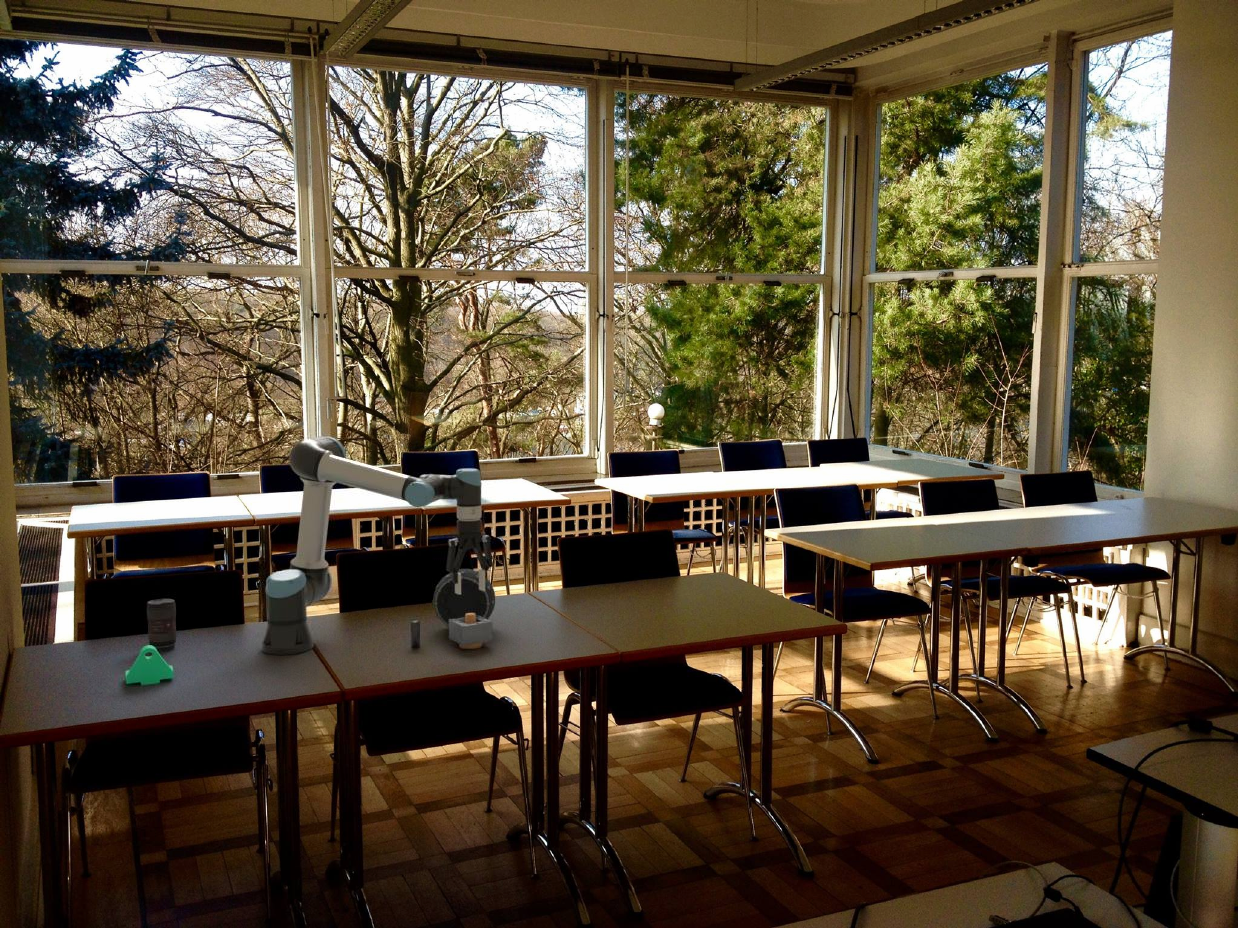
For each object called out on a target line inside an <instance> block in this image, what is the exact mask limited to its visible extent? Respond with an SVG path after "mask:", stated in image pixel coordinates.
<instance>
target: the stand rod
mask: <svg viewBox="0 0 1238 928" xmlns="http://www.w3.org/2000/svg"><path fill="white" fill-rule="evenodd" d="M420 623H421V621H420V620H418V619H417V620H411V621H410V647H411V648H413V649H418V648H420V647H421V624H420Z"/></svg>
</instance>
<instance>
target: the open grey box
mask: <svg viewBox="0 0 1238 928" xmlns="http://www.w3.org/2000/svg"><path fill="white" fill-rule="evenodd" d="M448 638H449V640H452V641H454V642H455V643H458V645H459V644H461V645H463V646H465V645H470V644H476V643H482V644H483V643H485V642H492V641H493V621H492V620H490V619H488V620H487V619H485V618H483V617H481V616H479V615H476V622H475V623H469V624H466V623H465V617H461V618H455V619H449V628H448Z"/></svg>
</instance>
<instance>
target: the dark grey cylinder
mask: <svg viewBox="0 0 1238 928" xmlns="http://www.w3.org/2000/svg"><path fill="white" fill-rule="evenodd" d="M176 607H177V605H176V601H175V600H174V599H171V598H159V599H158V598H157V599H152V600H149V601H147V604H146V616H147V627H148V628H147V629H148V631H147V634H148V635H147V638H148V639H147V640H148V645H151V646H154V647H155V648H156V649H157V652H158V653H163V652H168V651H171V650H174V649H175V648H176V647H175V646H176V645H175V644H176V643H177V629H176V628H177V627H176V626H177V624H176V615H177V609H176Z"/></svg>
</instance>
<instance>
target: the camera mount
mask: <svg viewBox="0 0 1238 928" xmlns="http://www.w3.org/2000/svg"><path fill="white" fill-rule="evenodd" d="M148 653H151V654H152V655H150V656H146V654H148ZM138 654H139V655H138V656H137V658H136V659H135V661H134V663H133V664H132V666H131V667H130V669H128V670H125V684H127V685H129V684H135V683H140V686H144V685H145V686H146V685H153V684H154V685H155V684H160V681H161V680H169V679H174V668H173V665H169V664H168V663H167V662H166V660H165V659H164V657H162V655H161V654H160V652H157V649H156V648H155V647H154V646H151V645H149V644H148V645H145V646H143V647H142V648H140V651H139V653H138Z"/></svg>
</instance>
